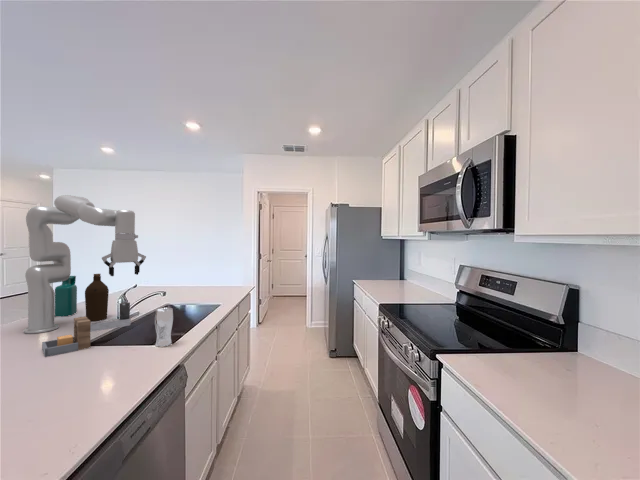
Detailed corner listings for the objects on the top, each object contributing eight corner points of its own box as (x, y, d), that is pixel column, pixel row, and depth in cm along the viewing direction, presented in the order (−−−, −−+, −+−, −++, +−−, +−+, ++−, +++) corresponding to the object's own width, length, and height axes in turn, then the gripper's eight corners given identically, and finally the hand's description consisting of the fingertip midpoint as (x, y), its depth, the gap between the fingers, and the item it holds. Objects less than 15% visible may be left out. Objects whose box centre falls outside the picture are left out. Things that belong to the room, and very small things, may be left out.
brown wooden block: (73, 343, 130) (73, 318, 130) (85, 341, 133) (85, 316, 133) (78, 350, 123) (78, 322, 123) (90, 347, 126) (90, 320, 126)
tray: (42, 349, 123) (42, 342, 123) (73, 343, 131) (73, 336, 131) (45, 357, 116) (45, 349, 116) (78, 350, 123) (78, 342, 123)
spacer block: (71, 345, 128) (57, 347, 124) (71, 334, 128) (57, 336, 124) (72, 347, 125) (58, 350, 121) (73, 336, 124) (58, 339, 121)
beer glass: (167, 347, 127) (167, 311, 127) (150, 347, 128) (151, 311, 128) (175, 341, 134) (176, 307, 134) (160, 341, 135) (160, 307, 134)
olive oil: (112, 318, 171) (112, 273, 171) (90, 323, 162) (90, 275, 162) (102, 315, 176) (103, 272, 176) (80, 320, 167) (81, 274, 167)
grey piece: (76, 332, 129) (76, 308, 129) (128, 323, 142) (128, 301, 142) (78, 334, 126) (78, 310, 126) (130, 325, 140) (131, 303, 140)
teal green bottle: (70, 316, 175) (71, 277, 175) (53, 317, 173) (53, 277, 172) (79, 312, 184) (79, 275, 184) (62, 312, 182) (62, 275, 182)
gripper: (143, 237, 148) (142, 273, 148) (100, 237, 136) (99, 275, 136) (148, 237, 143) (148, 274, 143) (104, 237, 131) (103, 277, 131)
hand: (124, 275), depth 140 cm, fingers open, 9 cm apart
